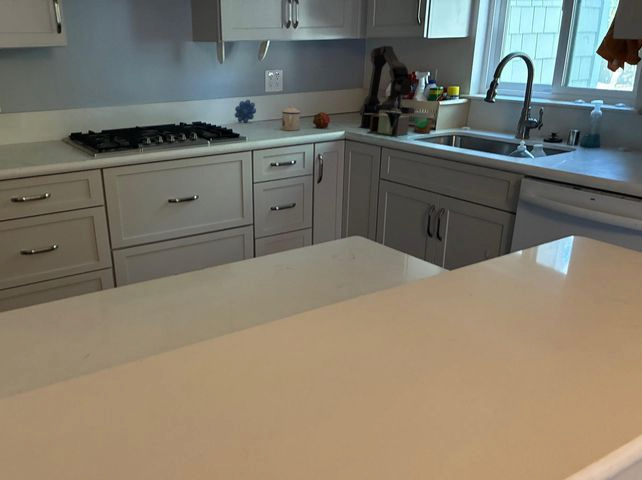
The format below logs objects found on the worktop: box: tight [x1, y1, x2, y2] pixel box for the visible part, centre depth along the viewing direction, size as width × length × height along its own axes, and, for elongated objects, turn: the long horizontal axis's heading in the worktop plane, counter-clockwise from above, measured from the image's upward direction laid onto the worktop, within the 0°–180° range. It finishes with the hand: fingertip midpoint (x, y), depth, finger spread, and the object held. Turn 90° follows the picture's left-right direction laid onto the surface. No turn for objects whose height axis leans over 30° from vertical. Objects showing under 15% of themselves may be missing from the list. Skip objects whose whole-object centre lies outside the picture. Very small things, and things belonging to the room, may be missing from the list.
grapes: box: [234, 99, 257, 124], centre depth 331 cm, size 12×7×12 cm, turn 84°
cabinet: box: [366, 112, 410, 138], centre depth 308 cm, size 16×12×9 cm
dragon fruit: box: [312, 111, 331, 129], centre depth 322 cm, size 8×8×12 cm
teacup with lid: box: [281, 105, 301, 132], centre depth 311 cm, size 12×9×12 cm
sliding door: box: [378, 116, 393, 134], centre depth 303 cm, size 8×3×8 cm, turn 46°
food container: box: [413, 110, 435, 135], centre depth 314 cm, size 12×6×10 cm, turn 25°
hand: (392, 127), depth 299 cm, fingers closed
